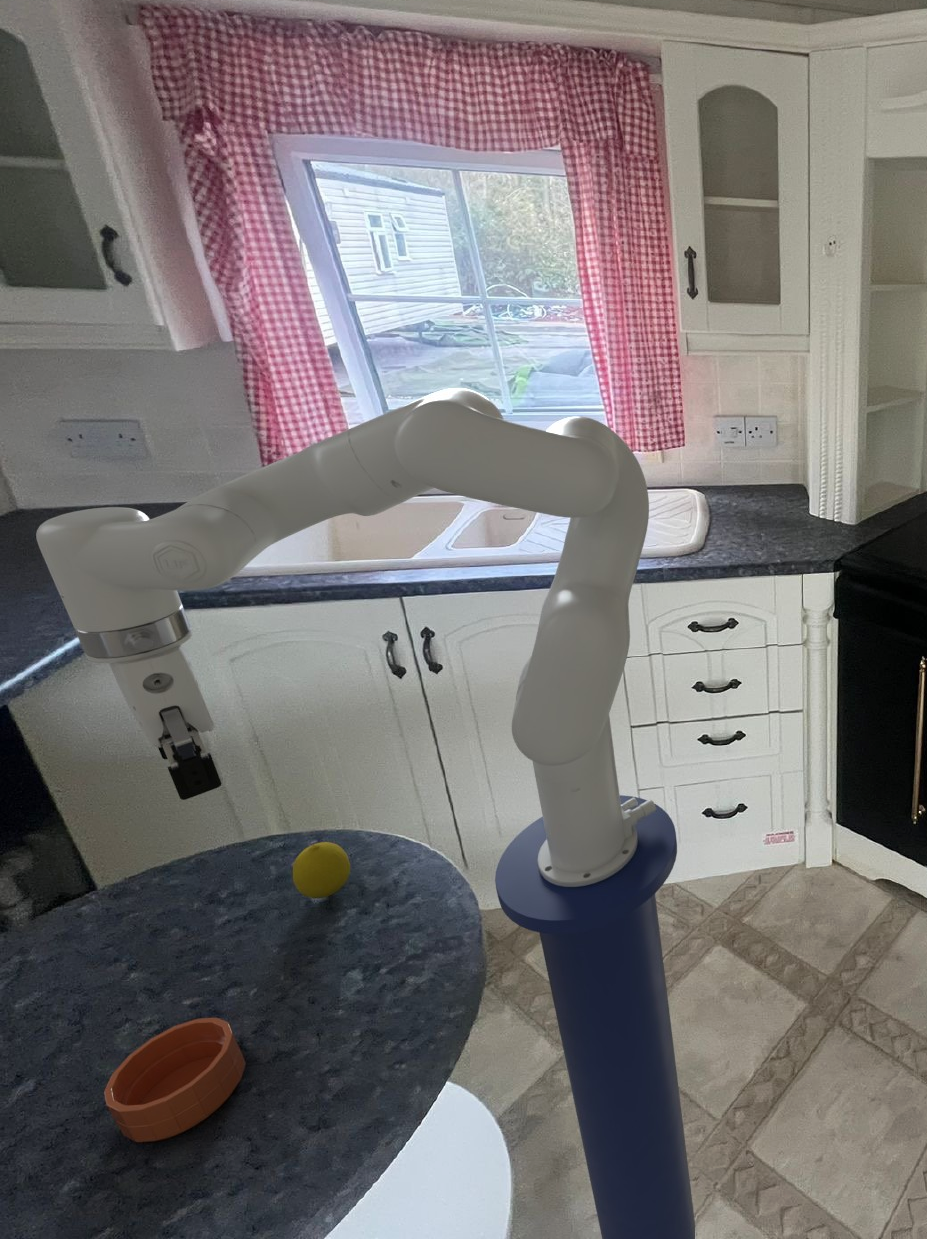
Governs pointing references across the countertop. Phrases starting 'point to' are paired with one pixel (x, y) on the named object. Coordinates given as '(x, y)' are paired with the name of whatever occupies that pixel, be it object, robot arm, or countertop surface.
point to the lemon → (321, 870)
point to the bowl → (175, 1080)
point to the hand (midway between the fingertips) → (191, 771)
